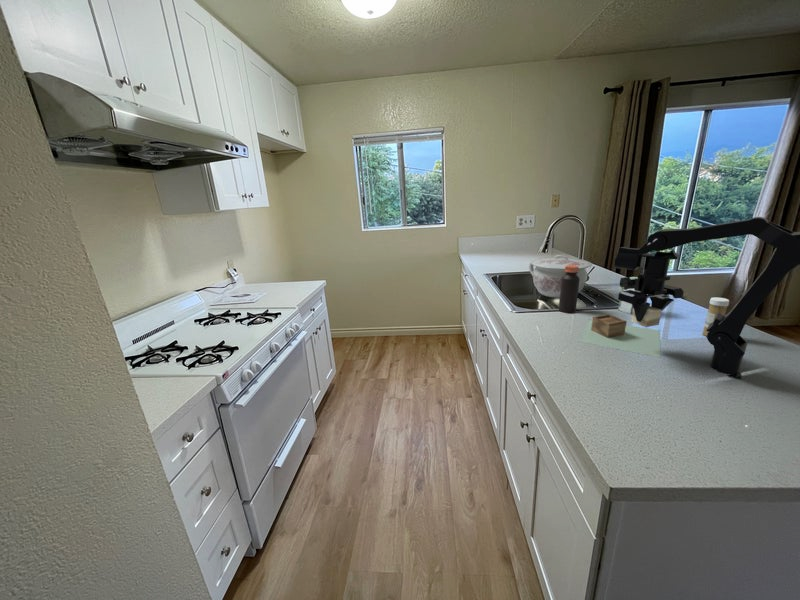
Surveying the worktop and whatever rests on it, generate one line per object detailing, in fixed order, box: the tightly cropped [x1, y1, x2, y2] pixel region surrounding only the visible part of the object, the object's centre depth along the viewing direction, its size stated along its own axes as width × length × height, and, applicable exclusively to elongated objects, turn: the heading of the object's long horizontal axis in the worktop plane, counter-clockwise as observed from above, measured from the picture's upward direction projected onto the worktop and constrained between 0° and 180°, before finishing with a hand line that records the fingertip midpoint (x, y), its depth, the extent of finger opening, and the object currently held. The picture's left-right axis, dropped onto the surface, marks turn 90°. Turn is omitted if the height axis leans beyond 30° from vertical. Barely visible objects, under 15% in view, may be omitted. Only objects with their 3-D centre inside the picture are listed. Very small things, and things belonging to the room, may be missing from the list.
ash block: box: [630, 305, 663, 328], centre depth 100 cm, size 5×5×5 cm
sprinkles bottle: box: [701, 296, 730, 337], centre depth 108 cm, size 5×5×13 cm
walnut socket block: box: [591, 314, 628, 338], centre depth 114 cm, size 7×7×5 cm
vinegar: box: [558, 265, 580, 314], centre depth 137 cm, size 7×7×20 cm
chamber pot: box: [528, 254, 593, 299], centre depth 160 cm, size 28×28×21 cm
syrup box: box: [617, 276, 640, 315], centre depth 134 cm, size 6×6×14 cm
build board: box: [579, 319, 661, 358], centre depth 112 cm, size 24×22×1 cm
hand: (645, 320), depth 101 cm, fingers closed on ash block, 5 cm apart
